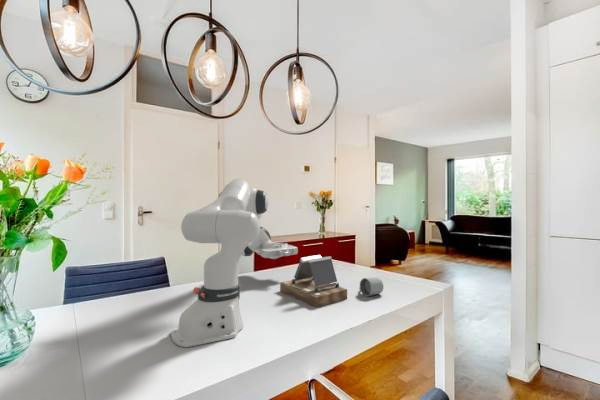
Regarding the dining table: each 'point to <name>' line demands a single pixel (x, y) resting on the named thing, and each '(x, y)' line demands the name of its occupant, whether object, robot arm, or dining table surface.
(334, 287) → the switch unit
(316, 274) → the lever slate
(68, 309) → the dining table surface
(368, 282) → the ceramic mug
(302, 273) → the grey board
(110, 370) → the dining table surface
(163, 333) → the dining table surface
